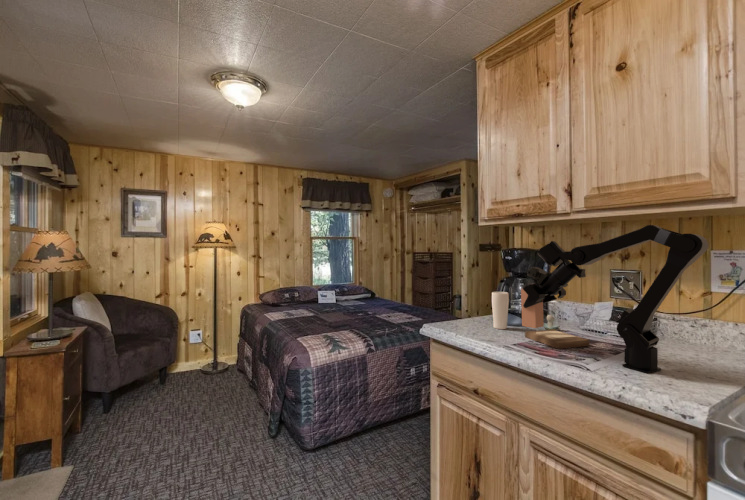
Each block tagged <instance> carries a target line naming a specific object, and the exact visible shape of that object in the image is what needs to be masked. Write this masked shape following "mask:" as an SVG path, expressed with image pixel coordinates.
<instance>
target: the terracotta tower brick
mask: <svg viewBox="0 0 745 500" xmlns="http://www.w3.org/2000/svg"><path fill="white" fill-rule="evenodd" d="M527 297H528V294H527V293H526V292H525V291H524V290H523V288H520V298H521V299H520V301H521V303H520V304H521V326H522V327H527V328H533V329H539V328H542V327H543V326H544V323H545V322H544V304H543V302H541V303H538V304H536V305H533V306H530V307H527V308H524V306H523V305H524V303H525V301H526V299H527ZM542 301H543V300H542Z"/></svg>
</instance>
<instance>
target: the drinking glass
mask: <svg viewBox="0 0 745 500" xmlns="http://www.w3.org/2000/svg"><path fill="white" fill-rule="evenodd" d="M509 296H510V295H509V292H507V291H492V292H491V308H492V309H491V311H492V321H493V322H492V323H493V325H492V326H493V328H494V329H496V330H506V329H508V316H509V315H508V314H509V305H510V297H509Z"/></svg>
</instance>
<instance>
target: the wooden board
mask: <svg viewBox="0 0 745 500" xmlns="http://www.w3.org/2000/svg"><path fill="white" fill-rule="evenodd" d="M524 338H527V339H530V340H532V341H536V342H537V343H541V344H545V345H546V346H550V347H552V348H556V349H568V348H579V347H589V346H590V339H588V338H585V337H580V336H578V335H573V334H570V333H568V332H567V333H566V332H562V331H561V330H548V329H545V330H533V331H531V330H530V331H525V332H524Z"/></svg>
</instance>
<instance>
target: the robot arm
mask: <svg viewBox="0 0 745 500" xmlns="http://www.w3.org/2000/svg"><path fill="white" fill-rule="evenodd" d="M651 241H652V242H655V243H658V244H659V245H663V246H665V247H668V248H669V249H668V252H667V256H666V260H665V264H664V265H663V266H662V268H661V270H660V271H659V273H658V274H657V276H656V277H655V279H654V280H653V282H652V284H651V285H650V286H649V287H648V290H646V292H645V294H644V296H643V297H642V298H641V300H640V301H639V303H637V306H636V307H635V308H634V309H633V308H628V309H625V310H623V312H622V314H621V316H620V318H619V319H617V320H616V321H615V322H616V323H617V325H616V330H617V334H618V335H619V337H621V338H622V340H623V342H624V344H625V347H624V351H623V352H624V358H623V359H624V360H623V361H624V363H622V367H624V368H628V369H632V370H636V371H639V372H642V373H645V374H650V373H655V372H659V371H662V367H659V364H658V363H659V362H658V360H659V359H658V358H659V357H658V356H659V355H658V353H659V351H658V347H655V346H657V345H658V343H659V341H660V338H659V337H658V336H657V335H656V334H655V333H654V332H653V331H652V330H650V329H651V327H652V325H653V321H654V317H655V313H657V311H658V309H659V308H660V306H661V305H662V303H663V302H664V300H666V298H667V296H668V295H669V294H670V292H671V290H672V289H673V288H674V286H675V284H676V283H678V281H679V279H680V278H681V276H682V275H683V274H684V272H685V271H686V270H687V269H688V268H689V267H691V266H692V265H693V264H694V263H695V262H696V261H697V260H698V259H700V257H701V256H703V255H704V254H705V253H706V252H707V250H708V249H709V242H708V239H706V238H705V237H704V236H702V235H701V234H696V233H679V232H677V231H672V230H669V229H666V228H663V227H660V226H658V225H654V224H647V225H644V226H643V227H641V228H639V229H636V230H633V231H630V232H628V233H627V232H626V233H624V234H622V235H619V236H616V237H613V238H610V239H607V240H605V241H602V242H598V243H593V244H586V245H581V246H580V245H579V246H575V247H574V248H572V249H571V250H570V251H569V250H568V251H567V250H564V249H563V248H562V246H560V245H559V244H558V242H557V241H555V240H552V241H550V242H549V243H547V244H545V245H544V246H542V247H541V248H539V249H538V251H537V256H539V257H540V258H541V259H542V260H543V261H544V262H545V264H547V265H548V267H555V268H554V270H552V271H551V272H548V271H546V270H544V269H542V268H540V267H538V266H530V267H529V269H527V271H526V273H527V277H529V278H532V279H534V280H536V283H537V284H538V285H537V284H536V283H525V285H523V287H522V289H523V290H524V291H525V292H526V293H527V294H528V297H527V299H526V301H525V303H524V305H523V306H524V308H527V307H530V306H533V305H536V304H538V303H541V302H543V305H545V304H546V303H550V302H553V301H556V300H557V299H562V298H564V297H566V296H567V291H566V289H565V288H566V287H568V286H569V282H571V281H572V280H573V279H574V278H575V277H577V278H578V279H582V278H586V277H587V275H586V269H585V268H580V266H589V265H593V264H594V263H596V262H598V261H601V260H602V259H603V258H605V257H607V256H609V255H611V254H614V253H617V252H620V251H624V250H627V249H630V248H632V247H636V246H639V245H642V244H645V243H647V242H648V243H649V242H651ZM556 296H557V297H556ZM542 300H543V301H542Z"/></svg>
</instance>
